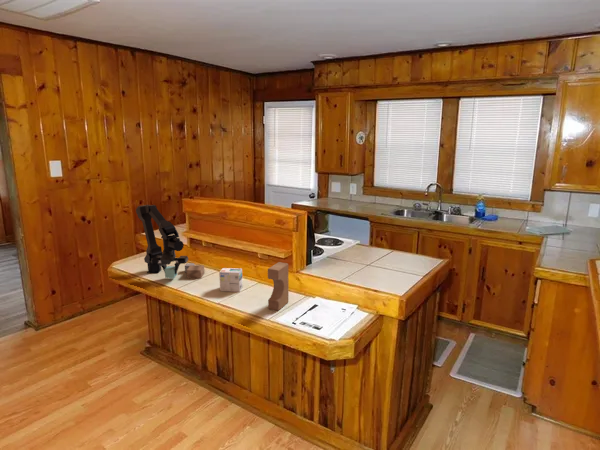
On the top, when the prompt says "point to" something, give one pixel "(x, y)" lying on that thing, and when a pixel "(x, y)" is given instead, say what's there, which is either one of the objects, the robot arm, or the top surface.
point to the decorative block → (278, 285)
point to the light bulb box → (231, 279)
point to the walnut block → (195, 271)
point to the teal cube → (170, 272)
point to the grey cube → (188, 266)
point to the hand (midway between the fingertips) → (171, 274)
